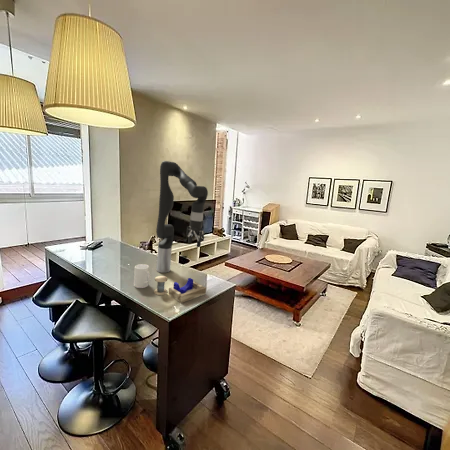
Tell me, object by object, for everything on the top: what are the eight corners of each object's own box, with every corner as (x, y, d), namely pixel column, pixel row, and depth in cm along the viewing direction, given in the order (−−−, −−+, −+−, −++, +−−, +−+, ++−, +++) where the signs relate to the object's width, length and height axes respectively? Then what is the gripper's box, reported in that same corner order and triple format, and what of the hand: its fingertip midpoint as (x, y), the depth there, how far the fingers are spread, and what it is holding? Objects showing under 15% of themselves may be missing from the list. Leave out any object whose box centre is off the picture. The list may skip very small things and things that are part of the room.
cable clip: (177, 295, 142) (178, 285, 141) (173, 292, 145) (173, 282, 144) (194, 289, 151) (194, 280, 150) (189, 287, 154) (190, 277, 152)
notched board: (168, 294, 143) (168, 288, 143) (192, 286, 157) (193, 280, 156) (181, 303, 136) (181, 296, 135) (205, 294, 149) (206, 287, 148)
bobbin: (151, 291, 145) (152, 277, 143) (162, 288, 150) (163, 275, 149) (158, 296, 140) (159, 281, 139) (169, 292, 146) (169, 279, 144)
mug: (154, 287, 151) (155, 268, 148) (141, 291, 144) (142, 271, 142) (143, 280, 158) (143, 262, 155) (130, 284, 151) (131, 265, 149)
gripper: (184, 217, 153) (182, 242, 157) (199, 222, 144) (196, 249, 147) (193, 216, 159) (191, 241, 162) (208, 221, 149) (206, 247, 153)
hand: (193, 244), depth 155 cm, fingers open, 8 cm apart
